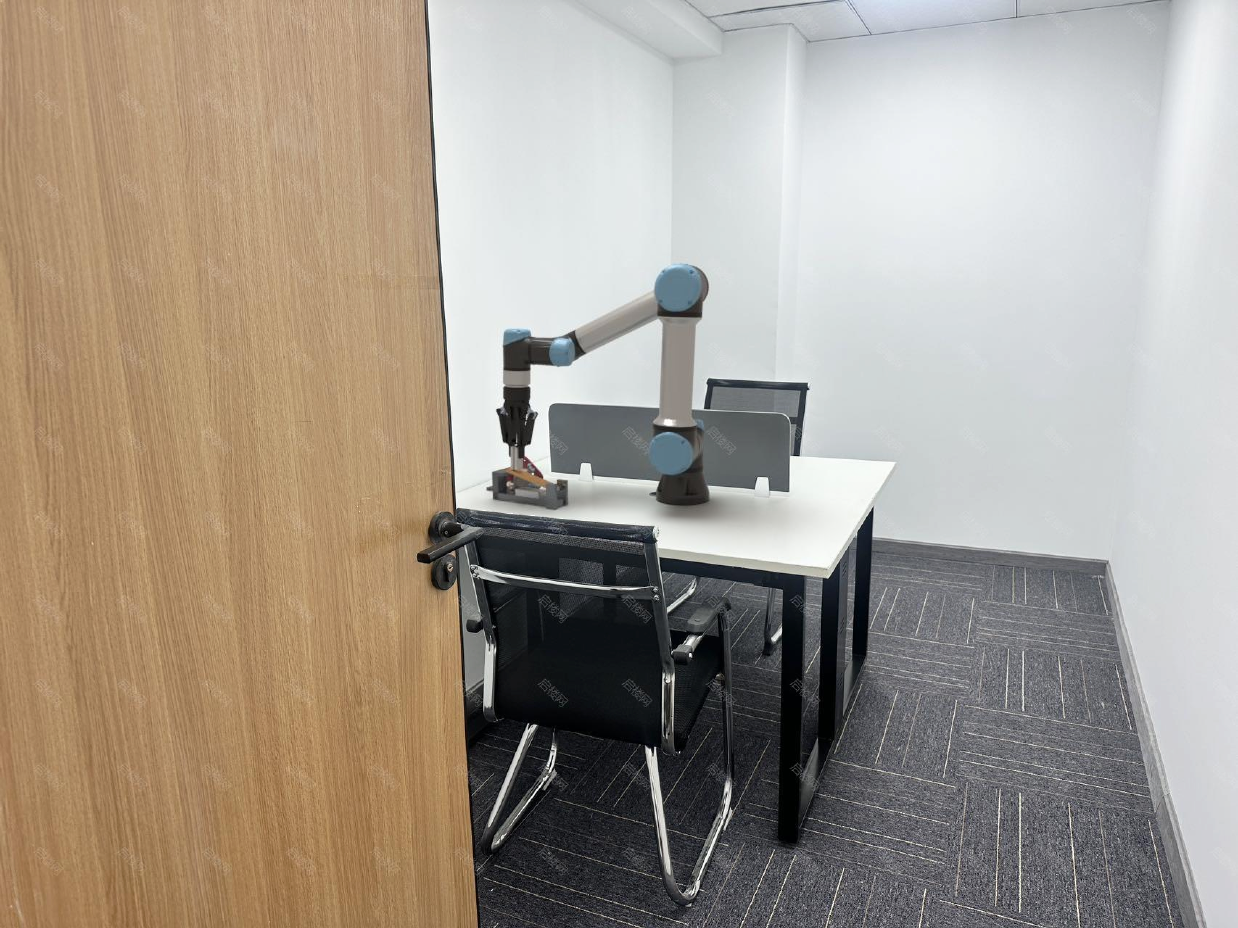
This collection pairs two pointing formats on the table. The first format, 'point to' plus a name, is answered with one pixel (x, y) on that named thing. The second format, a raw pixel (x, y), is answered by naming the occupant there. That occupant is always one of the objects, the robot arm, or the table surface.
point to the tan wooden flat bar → (531, 478)
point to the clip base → (545, 501)
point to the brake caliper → (518, 482)
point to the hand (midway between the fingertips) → (516, 469)
